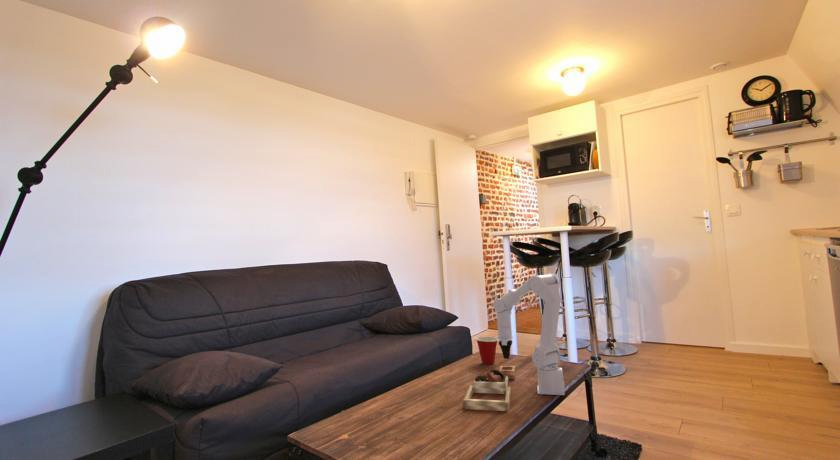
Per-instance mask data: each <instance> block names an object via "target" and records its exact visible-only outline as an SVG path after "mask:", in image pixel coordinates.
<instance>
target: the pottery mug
mask: <svg viewBox="0 0 840 460" xmlns="http://www.w3.org/2000/svg"><path fill="white" fill-rule="evenodd" d="M492 373H493V375H491V374H492ZM494 376H499V378H500V377H501V379H500V380H498V379H497V378H495V377H494ZM474 381H482V382H505V376H504V375H503V374H502V373H501V372H500V370H497V369H495V368H494V369H493V368H491V369H488V371H485V372H484V373H483V374H482V375H481V374H479V375H477V376H476V377H475V379H474Z"/></svg>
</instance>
